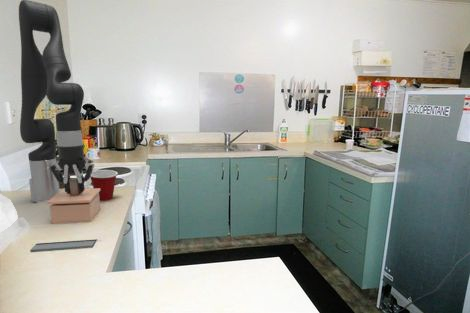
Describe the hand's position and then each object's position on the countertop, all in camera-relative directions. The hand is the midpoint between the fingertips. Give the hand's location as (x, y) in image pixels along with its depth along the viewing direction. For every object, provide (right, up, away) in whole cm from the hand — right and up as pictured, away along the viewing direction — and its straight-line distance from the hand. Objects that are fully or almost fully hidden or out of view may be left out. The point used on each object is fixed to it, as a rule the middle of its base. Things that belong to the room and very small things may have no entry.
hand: (75, 192), depth 104 cm
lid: (0, -1, 0) cm, 1 cm away
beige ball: (0, -8, +2) cm, 8 cm away
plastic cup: (+2, -6, +20) cm, 21 cm away
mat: (+6, -12, -13) cm, 19 cm away
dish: (0, -9, +2) cm, 9 cm away
